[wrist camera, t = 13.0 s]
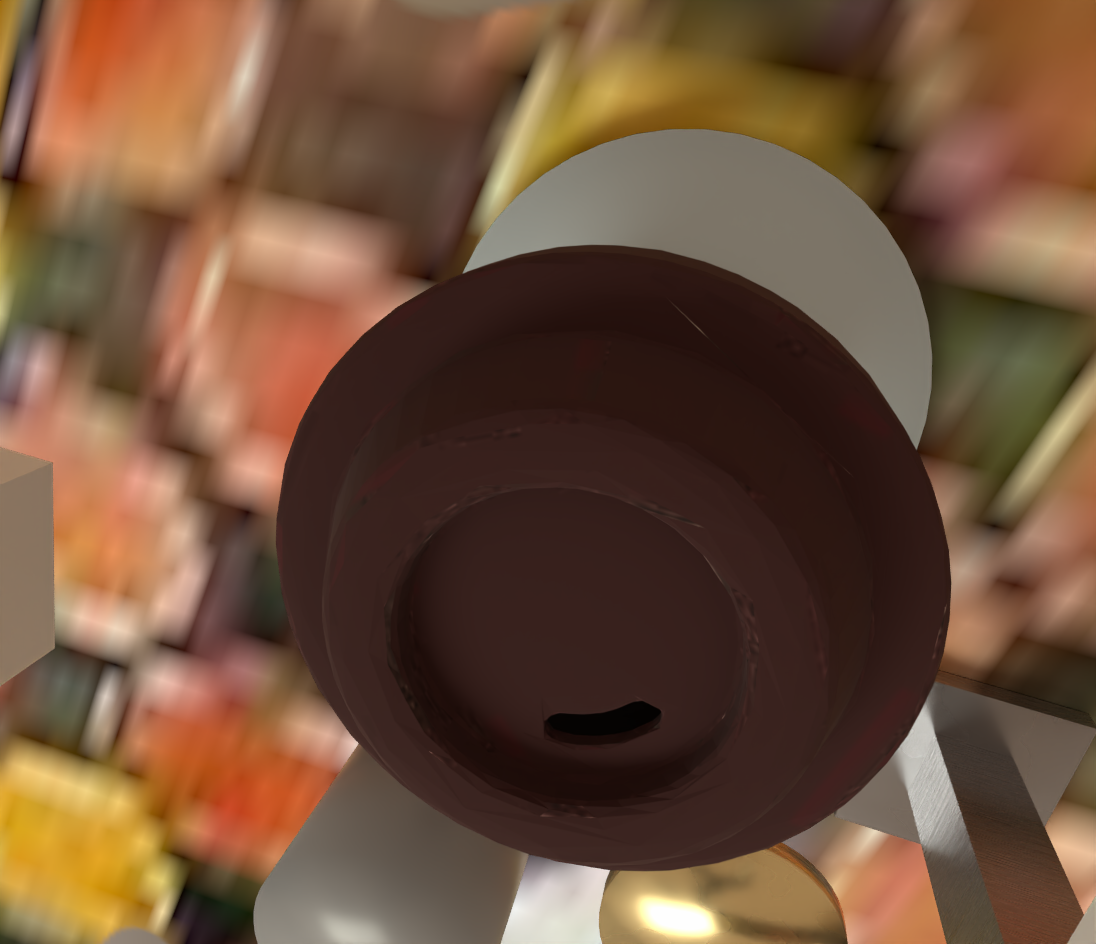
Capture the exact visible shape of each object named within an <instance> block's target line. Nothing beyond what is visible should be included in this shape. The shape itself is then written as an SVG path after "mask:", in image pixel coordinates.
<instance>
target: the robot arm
mask: <svg viewBox="0 0 1096 944" xmlns="http://www.w3.org/2000/svg"><path fill="white" fill-rule="evenodd" d="M54 648H55V619H54V532H53V463H52V462H49V461H45V460H42V459H39V458H35V457H32V456H28V455H25V454H22V453H18V452H15V451H11V450H8V449H5V448H1V447H0V686H1V685H2V684H4V683H5V682H7V681H8V680H10V679H11V678H13V677H14V676H15V675H17V674H18V673H20V672H21V671H23V670H24V669H26V668H27V667H28V666H30V665H31V664H33V663H34V662H36V661H37V660H39V659H40V658H41V657H43V656H44V655H46V654H47V653H49V652H50V651H51V650H53V649H54ZM1067 944H1096V896H1095V898H1094V900H1093V901H1092V903H1091V905H1090V906H1089V908H1088V910H1087V911H1086V913H1085V915H1084V916H1083V918H1082V920H1081V921H1080V923H1079V925H1078V926H1077V928H1076V929H1075V931H1074V933H1073V934H1072V936H1071V938H1070V939H1069V941H1068V943H1067Z"/></svg>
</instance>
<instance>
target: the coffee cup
mask: <svg viewBox="0 0 1096 944" xmlns="http://www.w3.org/2000/svg"><path fill="white" fill-rule="evenodd" d="M276 548H277V556H278V565H279V573H280V582H281V590H282V595H283V599H284V603H285V607H286V611H287V615H288V619H289V622H290V626H291V628H292V631H293V634H294V636H295V639H296V642H297V645H298V647H299V650H300V652H301V654H302V656H303V658H304V660H305V662H306V664H307V666H308V668H309V670H310V672H311V675H312V677H313V679H314V681H315V683H316V685H317V687H318V689H319V690H320V692H321V693H322V694H323V696H324V697H325V699H326V700H327V702H328V703H329V704H330V706H331V707H332V709H333V710H334V712H335V713H336V714H337V716H338V717H339V719H340V720H341V721H342V723H343V724H344V726H345V727H346V729H347V730H348V731H349V733H350V734H351V736H352V737H353V738H354V739H355V740H356V741H357V742H358V743H359V744H360V745H361V746H362V747H363V748H364V749H365V750H366V751H367V752H368V754H369V755H370V756H371V757H372V758H373V759H374V760H375V761H376V762H377V763H378V764H379V765H380V766H381V767H382V768H383V769H384V770H386V771H387V772H388V773H389V774H390V775H391V776H392V777H393V778H394V779H396V780H397V781H398V782H399V783H400V784H401V785H402V786H404V787H405V788H406V789H408V790H409V791H410V792H412V793H413V794H414V795H416V796H417V797H418V798H420V799H421V800H422V801H424V802H425V803H427V804H428V805H429V806H431V807H432V808H433V809H435V810H437V811H438V812H440V813H442V814H443V815H445V816H447V817H448V818H450V819H452V820H453V821H454V822H456V823H457V824H460V825H462V826H464V827H466V828H468V829H470V830H472V831H474V832H476V833H478V834H480V835H482V836H484V837H486V838H488V839H490V840H493V841H495V842H497V843H499V844H502V845H505V846H507V847H510V848H513V849H516V850H518V851H521V852H524V853H527V854H529V855H534V856H539V857H543V858H547V859H551V860H554V861H558V862H564V863H570V864H576V865H582V866H588V867H594V868H600V869H606V870H616V871H671V870H677V869H684V868H690V867H696V866H703V865H709V864H715V863H720V862H724V861H727V860H731V859H734V858H737V857H741V856H744V855H748V854H751V853H754V852H758V851H761V850H765V849H768V848H771V847H773V846H775V845H777V844H779V843H781V842H783V841H785V840H787V839H789V838H791V837H793V836H795V835H797V834H799V833H801V832H803V831H805V830H807V829H809V828H811V827H812V826H814V825H815V824H817V823H818V822H820V821H821V820H823V819H824V818H826V817H827V816H829V815H830V814H832V813H833V812H835V811H836V810H838V809H839V808H841V807H842V806H844V805H845V804H846V803H847V802H849V801H850V800H851V799H852V798H853V797H854V796H855V795H857V794H858V793H859V792H860V791H861V790H862V789H863V788H864V787H865V786H866V785H867V784H868V783H869V782H870V781H871V780H872V779H873V778H874V776H875V775H876V774H877V773H878V772H879V771H880V770H881V769H882V768H883V767H884V766H885V765H886V764H887V763H888V761H889V760H890V759H891V757H892V756H893V755H894V753H895V752H896V751H897V749H898V748H899V747H900V745H901V744H902V743H903V741H904V740H905V739H906V737H907V736H908V734H909V732H910V730H911V729H912V727H913V725H914V723H915V721H916V719H917V718H918V716H919V714H920V712H921V710H922V708H923V706H924V704H925V702H926V700H927V697H928V695H929V693H930V691H931V689H932V687H933V685H934V682H935V679H936V676H937V672H938V669H939V666H940V662H941V659H942V656H943V653H944V647H945V642H946V636H947V630H948V624H949V617H950V598H951V573H950V560H949V549H948V544H947V540H946V535H945V531H944V526H943V522H942V517H941V513H940V510H939V507H938V504H937V500H936V497H935V494H934V490H933V487H932V484H931V482H930V479H929V477H928V474H927V472H926V470H925V467H924V465H923V462H922V460H921V458H920V456H919V454H918V452H917V450H916V448H915V446H914V444H913V443H912V441H911V439H910V437H909V435H908V433H907V431H906V430H905V428H904V426H903V425H902V423H901V422H900V420H899V419H898V417H897V415H896V414H895V412H894V411H893V409H892V408H891V406H890V405H889V403H888V402H887V400H886V399H885V397H884V396H883V394H882V393H881V391H880V390H879V388H878V387H877V385H876V384H875V382H874V381H873V379H872V378H871V376H870V375H869V373H868V372H867V371H866V370H865V369H864V368H863V367H862V366H861V365H860V364H859V363H858V361H857V360H856V359H855V358H854V357H853V356H852V355H851V354H850V353H849V352H848V351H847V350H846V348H845V347H844V346H843V345H842V344H841V343H840V342H839V341H838V340H837V339H836V338H835V337H834V336H833V335H831V334H830V333H829V332H828V331H827V330H825V329H824V328H823V327H822V326H820V325H819V324H818V323H817V322H815V321H814V320H813V319H812V318H811V317H809V316H808V315H807V314H806V313H804V312H803V311H802V310H801V309H799V308H798V307H797V306H795V305H793V304H792V303H790V302H789V301H787V300H785V299H784V298H782V297H780V296H779V295H777V294H776V293H774V292H772V291H771V290H769V289H767V288H765V287H763V286H761V285H759V284H757V283H755V282H753V281H751V280H749V279H747V278H745V277H743V276H741V275H739V274H736V273H734V272H731V271H728V270H726V269H723V268H721V267H718V266H715V265H713V264H710V263H707V262H705V261H701V260H697V259H693V258H690V257H686V256H682V255H678V254H674V253H671V252H667V251H663V250H657V249H648V248H639V247H629V246H620V245H578V246H563V247H555V248H550V249H545V250H539V251H534V252H529V253H524V254H519V255H516V256H513V257H510V258H506V259H503V260H500V261H497V262H493V263H490V264H487V265H484V266H481V267H479V268H476V269H473V270H470V271H467V272H465V273H463V274H460V275H458V276H456V277H453V278H451V279H449V280H446V281H444V282H441V283H439V284H437V285H435V286H433V287H431V288H429V289H428V290H426V291H424V292H422V293H421V294H419V295H417V296H416V297H414V298H412V299H410V300H409V301H407V302H405V303H403V304H402V305H400V306H398V307H397V308H395V309H394V310H393V311H392V312H391V313H389V314H388V315H387V316H386V317H384V318H383V319H382V320H381V321H379V322H378V323H377V324H376V325H374V326H373V327H372V328H371V329H369V330H368V331H367V332H366V333H364V334H363V335H362V336H361V337H360V339H359V340H358V341H357V342H356V343H355V344H354V345H353V346H352V347H351V348H350V349H349V350H348V352H347V353H346V354H345V355H344V356H343V357H342V358H341V359H340V360H339V362H338V363H337V364H336V365H335V366H334V367H333V368H332V370H331V371H330V372H329V373H328V375H327V377H326V378H325V380H324V381H323V383H322V385H321V386H320V388H319V389H318V391H317V393H316V394H315V396H314V398H313V399H312V401H311V402H310V404H309V406H308V408H307V410H306V412H305V414H304V416H303V418H302V420H301V421H300V423H299V426H298V429H297V432H296V434H295V437H294V440H293V443H292V446H291V448H290V451H289V454H288V457H287V460H286V463H285V468H284V474H283V480H282V487H281V494H280V500H279V507H278V513H277V525H276Z"/></svg>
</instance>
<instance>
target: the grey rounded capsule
mask: <svg viewBox="0 0 1096 944" xmlns="http://www.w3.org/2000/svg"><path fill="white" fill-rule="evenodd" d="M528 857H529V854H527V853H524V852H521V851H518V850H516V849H513V848H510V847H507V846H505V845H502V844H499V843H497V842H495V841H493V840H490V839H488V838H486V837H484V836H482V835H480V834H478V833H476V832H474V831H472V830H470V829H468V828H466V827H464V826H462V825H460V824H457V823H456V822H454V821H453V820H452V819H450V818H448V817H447V816H445V815H443V814H442V813H440V812H438V811H437V810H435V809H433V808H432V807H431V806H429V805H428V804H427V803H425V802H424V801H422V800H421V799H420V798H418V797H417V796H416V795H414V794H413V793H412V792H410V791H409V790H408V789H406V788H405V787H404V786H402V785H401V784H400V783H399V782H398V781H397V780H396V779H394V778H393V777H392V776H391V775H390V774H389V773H388V772H387V771H386V770H384V769H383V768H382V767H381V766H380V765H379V764H378V763H377V762H376V761H375V760H374V759H373V758H372V757H371V756H370V755H369V754H368V752H367V751H366V750H365V749H364V748H363V747H362V746H361V745H360V744H358V746H357V747H356V749H355V750H354V752H353V753H352V755H351V756H350V757H349V759H348V760H347V762H346V763H345V765H344V766H343V768H342V769H341V771H340V772H339V774H338V775H337V777H336V778H335V779H334V781H333V782H332V784H331V785H330V787H329V788H328V790H327V791H326V793H325V794H324V796H323V797H322V799H321V800H320V801H319V803H318V804H317V806H316V807H315V809H314V810H313V812H312V813H311V815H310V816H309V818H308V819H307V820H306V822H305V823H304V825H303V826H302V828H301V829H300V831H299V832H298V834H297V835H296V837H295V838H294V840H293V841H292V842H291V844H290V845H289V847H288V848H287V850H286V851H285V853H284V854H283V856H282V857H281V859H280V860H279V862H278V863H277V864H276V866H275V867H274V869H273V870H272V872H271V873H270V875H269V876H268V878H267V879H266V881H265V882H264V884H263V885H262V887H261V889H260V891H259V893H258V896H257V898H256V902H255V908H254V928H255V935H256V938H257V942H258V944H501V940H502V937H503V934H504V931H505V928H506V925H507V922H508V919H509V916H510V912H511V909H512V906H513V903H514V900H515V897H516V894H517V891H518V888H519V884H520V881H521V878H522V875H523V872H524V869H525V866H526V863H527V860H528Z"/></svg>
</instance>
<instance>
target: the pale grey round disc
mask: <svg viewBox="0 0 1096 944" xmlns="http://www.w3.org/2000/svg"><path fill="white" fill-rule="evenodd" d="M578 245H620V246H629V247H639V248H648V249H657V250H663V251H667V252H671V253H674V254H678V255H682V256H686V257H690V258H693V259H697V260H701V261H705V262H707V263H710V264H713V265H715V266H718V267H721V268H723V269H726V270H728V271H731V272H734V273H736V274H739V275H741V276H743V277H745V278H747V279H749V280H751V281H753V282H755V283H757V284H759V285H761V286H763V287H765V288H767V289H769V290H771V291H772V292H774V293H776V294H777V295H779V296H780V297H782V298H784V299H785V300H787V301H789V302H790V303H792V304H793V305H795V306H797V307H798V308H799V309H801V310H802V311H803V312H804V313H806V314H807V315H808V316H809V317H811V318H812V319H813V320H814V321H815V322H817V323H818V324H819V325H820V326H822V327H823V328H824V329H825V330H827V331H828V332H829V333H830V334H831V335H833V336H834V337H835V338H836V339H837V340H838V341H839V342H840V343H841V344H842V345H843V346H844V347H845V348H846V350H847V351H848V352H849V353H850V354H851V355H852V356H853V357H854V358H855V359H856V360H857V361H858V363H859V364H860V365H861V366H862V367H863V368H864V369H865V370H866V371H867V372H868V373H869V375H870V376H871V378H872V379H873V381H874V382H875V384H876V385H877V387H878V388H879V390H880V391H881V393H882V394H883V396H884V397H885V399H886V400H887V402H888V403H889V405H890V406H891V408H892V409H893V411H894V412H895V414H896V415H897V417H898V419H899V420H900V422H901V423H902V425H903V426H904V428H905V430H906V431H907V433H908V435H909V437H910V439H911V441H912V443H913V444H914V446H915V448H916V450H917V448H918V444H919V441H920V438H921V435H922V432H923V429H924V425H925V422H926V418H927V412H928V406H929V400H930V394H931V385H932V349H931V341H930V333H929V325H928V319H927V316H926V312H925V309H924V305H923V301H922V298H921V294H920V290H919V287H918V285H917V283H916V281H915V278H914V276H913V274H912V272H911V269H910V267H909V265H908V262H907V260H906V258H905V256H904V255H903V253H902V251H901V250H900V248H899V247H898V245H897V243H896V242H895V240H894V239H893V237H892V235H891V234H890V232H889V231H888V229H887V228H886V226H885V225H884V224H883V223H882V222H881V221H880V219H879V218H878V217H877V216H876V215H875V214H874V212H873V211H872V210H871V209H870V208H869V207H868V205H867V204H866V203H865V202H864V201H863V200H862V199H861V198H860V197H858V196H857V195H856V194H855V193H854V192H853V191H852V190H850V189H849V188H848V187H847V186H846V185H845V184H844V183H842V182H841V181H840V180H839V179H838V178H836V177H835V176H833V175H832V174H830V173H829V172H827V171H825V170H824V169H822V168H821V167H819V166H818V165H816V164H815V163H813V162H811V161H810V160H808V159H807V158H804V157H802V156H800V155H798V154H796V153H793V152H791V151H789V150H787V149H785V148H782V147H780V146H778V145H776V144H773V143H769V142H766V141H762V140H759V139H756V138H752V137H749V136H745V135H742V134H736V133H729V132H722V131H715V130H708V129H669V130H661V131H654V132H647V133H640V134H634V135H631V136H627V137H624V138H620V139H617V140H613V141H610V142H606V143H603V144H601V145H598V146H596V147H594V148H591V149H589V150H587V151H585V152H582V153H580V154H578V155H575V156H573V157H571V158H570V159H568V160H566V161H565V162H563V163H561V164H560V165H558V166H556V167H555V168H553V169H552V170H550V171H548V172H547V173H545V174H543V175H542V176H541V177H540V178H539V179H537V180H536V181H535V182H534V183H532V184H531V185H530V186H529V187H528V188H526V189H525V190H524V191H523V192H521V193H520V194H519V195H518V196H517V197H516V198H515V199H514V200H513V201H512V202H511V203H510V204H509V205H508V207H507V208H506V209H505V210H504V211H503V212H502V213H501V214H500V215H499V216H498V217H497V218H496V220H495V221H494V222H493V224H492V225H491V227H490V228H489V229H488V231H487V232H486V234H485V235H484V236H483V238H482V239H481V241H480V242H479V243H478V245H477V247H476V249H475V251H474V253H473V255H472V256H471V258H470V260H469V262H468V264H467V266H466V268H465V270H464V272H463V273H465V272H467V271H470V270H473V269H476V268H479V267H481V266H484V265H487V264H490V263H493V262H497V261H500V260H503V259H506V258H510V257H513V256H516V255H519V254H524V253H529V252H534V251H539V250H545V249H550V248H555V247H563V246H578Z"/></svg>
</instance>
